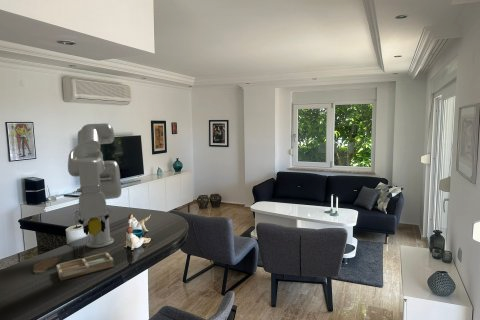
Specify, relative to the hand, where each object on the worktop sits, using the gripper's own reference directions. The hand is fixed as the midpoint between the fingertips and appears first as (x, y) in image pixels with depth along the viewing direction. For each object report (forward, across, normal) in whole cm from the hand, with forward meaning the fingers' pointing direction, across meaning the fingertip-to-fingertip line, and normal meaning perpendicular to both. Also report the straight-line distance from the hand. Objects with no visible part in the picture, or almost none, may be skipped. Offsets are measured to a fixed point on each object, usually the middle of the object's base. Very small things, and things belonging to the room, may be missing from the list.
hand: (94, 232), depth 141 cm
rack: (+15, -5, 0) cm, 15 cm away
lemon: (+2, 0, 0) cm, 2 cm away
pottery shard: (+15, -18, +15) cm, 28 cm away
